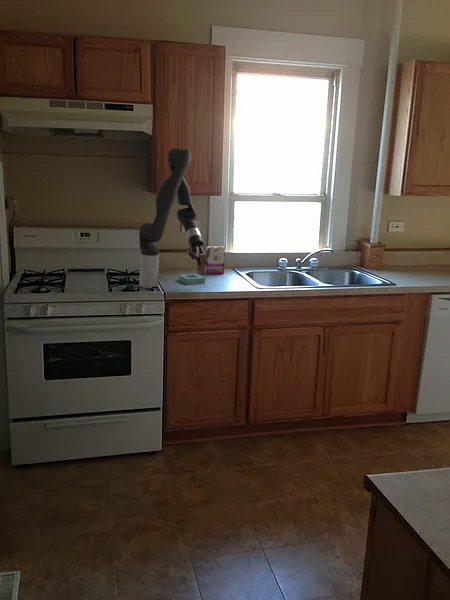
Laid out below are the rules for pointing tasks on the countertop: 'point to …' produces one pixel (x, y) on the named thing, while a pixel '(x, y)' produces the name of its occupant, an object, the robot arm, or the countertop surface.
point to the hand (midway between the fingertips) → (203, 264)
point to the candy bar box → (215, 260)
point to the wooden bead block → (191, 279)
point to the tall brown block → (203, 259)
